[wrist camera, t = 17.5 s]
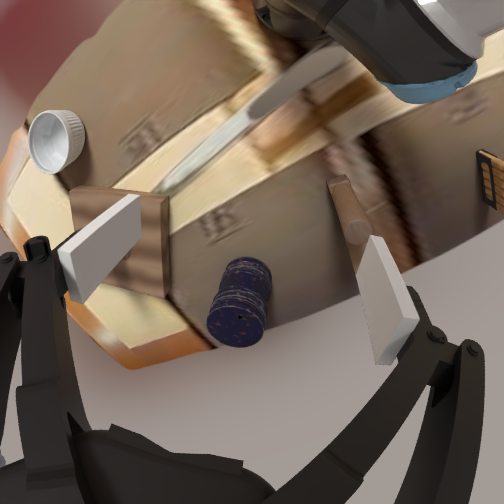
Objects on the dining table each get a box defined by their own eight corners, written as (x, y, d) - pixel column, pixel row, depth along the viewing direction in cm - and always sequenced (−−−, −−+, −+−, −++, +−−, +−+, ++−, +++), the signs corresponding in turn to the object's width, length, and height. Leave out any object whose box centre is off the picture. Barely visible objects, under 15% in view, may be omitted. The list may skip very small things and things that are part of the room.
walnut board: (80, 184, 55) (68, 191, 51) (168, 195, 53) (160, 203, 50) (92, 268, 66) (83, 277, 63) (170, 287, 65) (164, 298, 61)
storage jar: (261, 302, 63) (252, 354, 50) (218, 285, 62) (199, 335, 50) (279, 266, 58) (273, 318, 45) (233, 248, 57) (214, 296, 45)
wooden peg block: (343, 233, 52) (360, 293, 37) (325, 179, 48) (339, 223, 33) (362, 227, 51) (385, 286, 36) (345, 173, 47) (369, 214, 31)
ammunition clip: (475, 151, 40) (512, 169, 29) (482, 148, 39) (519, 166, 29) (483, 201, 44) (515, 228, 34) (490, 198, 43) (522, 224, 33)
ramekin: (50, 164, 53) (30, 174, 47) (47, 109, 46) (25, 114, 40) (91, 165, 52) (71, 175, 46) (90, 103, 45) (67, 107, 39)
